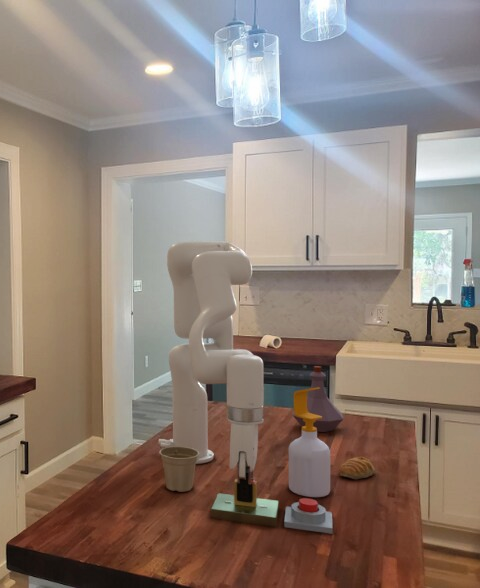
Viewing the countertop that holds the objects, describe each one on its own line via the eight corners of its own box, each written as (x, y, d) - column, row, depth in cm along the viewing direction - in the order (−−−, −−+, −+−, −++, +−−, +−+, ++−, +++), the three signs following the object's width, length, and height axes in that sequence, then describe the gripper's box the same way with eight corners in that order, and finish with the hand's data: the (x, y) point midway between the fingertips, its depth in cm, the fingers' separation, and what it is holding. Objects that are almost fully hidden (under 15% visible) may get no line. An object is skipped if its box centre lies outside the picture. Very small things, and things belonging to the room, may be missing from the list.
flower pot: (175, 477, 145) (175, 443, 145) (207, 487, 138) (206, 451, 138) (151, 487, 139) (151, 452, 138) (183, 498, 132) (183, 461, 131)
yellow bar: (234, 504, 123) (234, 480, 123) (235, 501, 125) (235, 477, 124) (256, 507, 121) (255, 482, 121) (256, 504, 123) (256, 480, 123)
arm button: (298, 512, 117) (298, 503, 117) (299, 505, 121) (299, 497, 121) (317, 514, 116) (317, 506, 116) (317, 507, 119) (317, 499, 119)
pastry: (358, 483, 139) (358, 467, 139) (331, 476, 145) (331, 460, 144) (376, 474, 145) (376, 459, 145) (350, 467, 150) (350, 452, 150)
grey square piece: (284, 527, 116) (284, 512, 116) (286, 511, 124) (286, 497, 124) (332, 534, 113) (332, 519, 113) (331, 517, 121) (331, 503, 120)
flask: (303, 418, 199) (303, 361, 198) (353, 427, 188) (353, 366, 187) (282, 428, 187) (281, 367, 186) (333, 438, 176) (333, 373, 175)
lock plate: (211, 518, 121) (211, 507, 121) (218, 501, 130) (217, 492, 130) (276, 527, 117) (276, 516, 116) (278, 509, 125) (278, 499, 125)
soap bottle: (311, 501, 129) (311, 392, 128) (280, 487, 137) (280, 385, 136) (338, 493, 133) (339, 387, 132) (307, 480, 141) (307, 381, 140)
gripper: (232, 404, 131) (232, 483, 132) (221, 421, 116) (222, 511, 117) (266, 406, 128) (266, 488, 129) (260, 424, 113) (260, 516, 114)
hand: (245, 498), depth 123 cm, fingers closed on yellow bar, 2 cm apart
